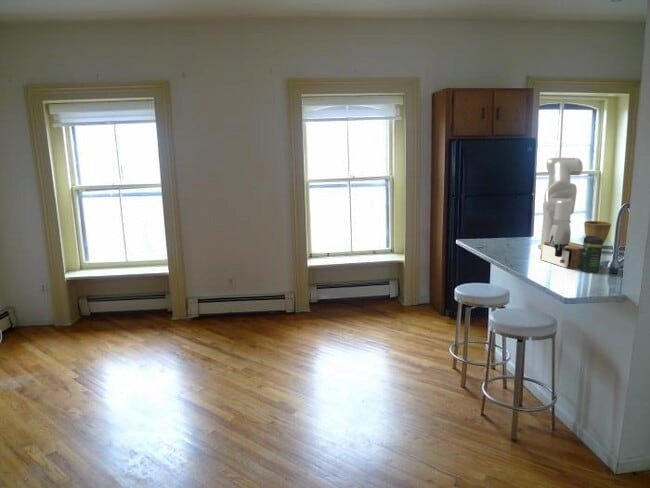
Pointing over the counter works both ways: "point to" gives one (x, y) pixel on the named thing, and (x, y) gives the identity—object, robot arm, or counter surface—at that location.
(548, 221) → the robot arm
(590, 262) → the coffee jar
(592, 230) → the plant pot
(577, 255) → the cabinet
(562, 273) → the counter surface
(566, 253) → the door
